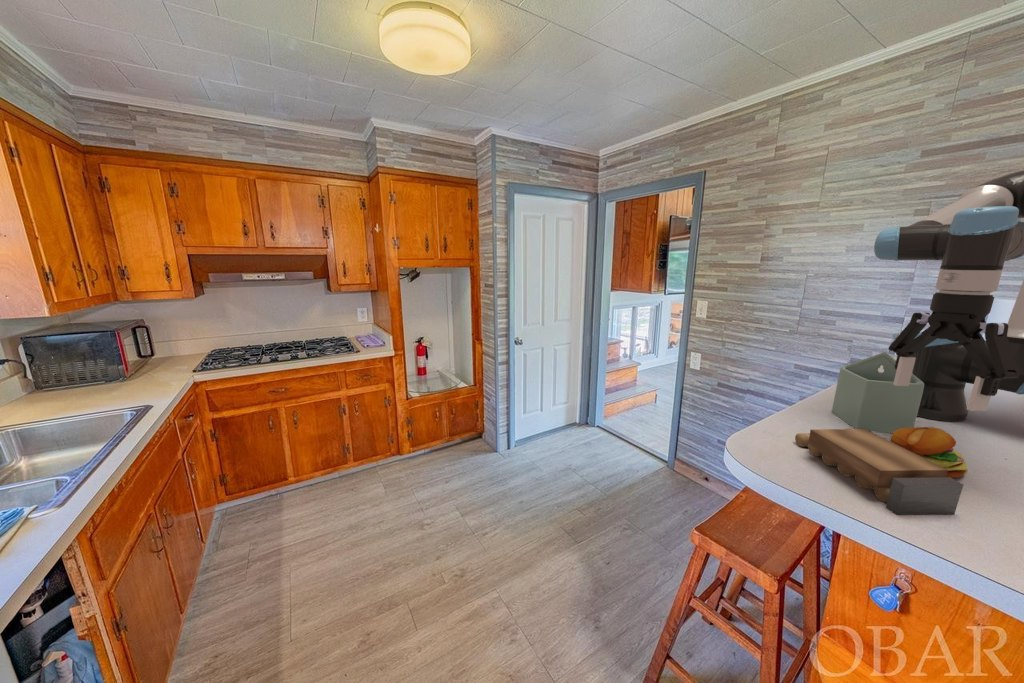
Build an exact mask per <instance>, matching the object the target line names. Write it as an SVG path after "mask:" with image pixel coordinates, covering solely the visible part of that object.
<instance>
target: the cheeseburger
mask: <svg viewBox="0 0 1024 683" xmlns="http://www.w3.org/2000/svg"><path fill="white" fill-rule="evenodd" d="M889 441H890V442H892V443H894V444H896V445H898V446H900V447H902V448H904V449H907V450H909V451H911V452H913V453H915V454H917V455H919V456H921V457H923V458H925V459H927V460H929V461H931V462H933V463H935V464H937V465H939V466H941V467H943V468H945V469H947V470H948V472H947V475H946V477H950V478H952V479H954V478H961V477H962V476H964V475H965V474H968V467H967V463H966V461H965V457H964V456H963V455H962V453H959V452H958V451H956V450H955V448H954V447H956V446H957V445H956V444H957V441H956V440H955V438H954V437H953V435H951V434H950V433H949V432H946V431H944V430H943V429H941V428H937V427H933V426H931V427H930V426H929V427H928V426H927V427H926V426H923V427H921V426H920V427H917V426H916V427H915V426H914V428H900V429H898V430H896V431H894V432H893V433H891V436H890V440H889Z"/></svg>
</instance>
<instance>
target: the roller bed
mask: <svg viewBox="0 0 1024 683" xmlns="http://www.w3.org/2000/svg"><path fill="white" fill-rule="evenodd" d="M809 436H810V432H808V433H807V432H806V433H801V432H800V433H796V434H795V436H794V437H795V438H794V439H795V443H796V445H797V446H799V447H807V449H808V452H809V453H810V454H811V455H813V456H821V457H822V460H823V462H824V464H826V466H827V465H828V466H837V469H838V471H839V473H840V474H841V475H842V476H844V477H854V480H855V482H856V484H857V485H858V486H859V487H860V488H862V489H873V490H874V494H875V496H876V498H877V499H878V500H880V501H881V502H884V503H887V500H888V496H889V492H890V488H876V487H875V486H873V485H872V484H870V483H868V482H867V481H865V480H864V479H862V478H861V477H859V476H857V475H856V474H854V473H853V472H851V471H850V470H848V469H847V468H845V467H843V466H842V465H840V464H839V463H837V462H836V461H834V460H833V459H831V458H829V457H828V456H826V455H825V454H823V453H822V452H820V451H818V450H817V449H815V448H814V447H812V446H811V445H809V444H808V441H809Z"/></svg>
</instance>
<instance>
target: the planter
mask: <svg viewBox="0 0 1024 683" xmlns="http://www.w3.org/2000/svg"><path fill="white" fill-rule="evenodd" d="M895 363H896V359H894V358H893V356H891V355H890V354H889V353H887V352H886V351H883V352H880V353H877V354H874V355H871V356H869V357H866V358H863V359H860V360H857V361H854V362H851V363H849V364H844V365H842V366H841V367H840V368H839V373H838V378H837V384H836V388H835V393H834V399H833V403H832V408H831V413H832V414H834V415H835V416H836V417H838V418H839V419H840V420H842V421H843V422H845V423H847V424H848V425H849V426H851V427H852V428H853V429H866V430H868V431H870V432H873V433H874V432H875V433H885V434H893V432H894V431H896V430H898V429H900V428H914V427H915V425H916V420H917V418H918V416H917V413H918V409H919V406H920V402H921V398H922V394H923V389H924V383H923V382H922V381H921V380H920V379H918V378H917V377H916V376H915V375H913V374H912V375H911V379H910V383H909V386H895V385H893V383H894V379H895V375H896V371H897V369H895ZM881 366H882V369H883V371H882V372H881V371H879V369H880V368H881Z"/></svg>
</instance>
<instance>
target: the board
mask: <svg viewBox="0 0 1024 683" xmlns="http://www.w3.org/2000/svg"><path fill="white" fill-rule="evenodd" d="M809 433H810V436H809V441H808V444H809V445H811V446H812V447H814V448H815V449H817V450H818V451H820V452H822V453H823V454H825V455H826V456H828V457H829V458H831V459H833V460H834V461H836V462H837V463H839V464H840V465H842V466H843V467H845V468H847V469H848V470H850V471H851V472H853V473H854V474H856V475H857V476H859V477H861V478H862V479H864V480H865V481H867V482H868V483H870V484H872V485H873V486H875V487H876V488H891V484H892V480H893V478H936V477H946V475H947V472H948V470H947V469H945V468H943V467H941V466H939V465H937V464H935V463H933V462H931V461H929V460H927V459H925V458H923V457H921V456H919V455H917V454H915V453H913V452H911V451H909V450H907V449H904V448H902V447H900V446H898V445H896V444H894V443H892V442H890V440H888V439H886V438H884V437H882V436H880V435H878V434H876V433H874V432H873V431H868V430H866V429H855V428H846V429H845V428H840V429H838V428H835V429H834V428H833V429H831V428H830V429H829V428H828V429H827V428H826V429H823V428H822V429H814V428H813V429H810V432H809Z"/></svg>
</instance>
